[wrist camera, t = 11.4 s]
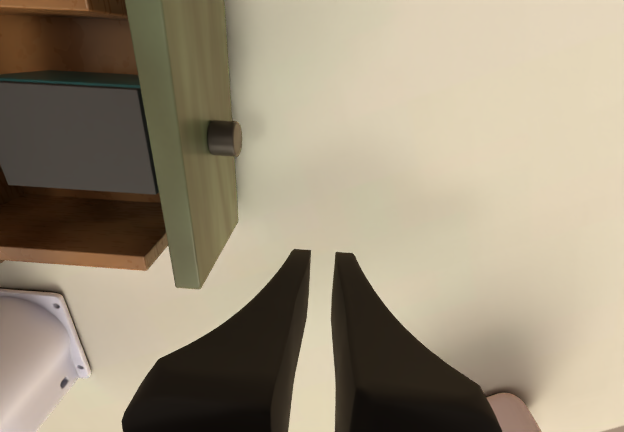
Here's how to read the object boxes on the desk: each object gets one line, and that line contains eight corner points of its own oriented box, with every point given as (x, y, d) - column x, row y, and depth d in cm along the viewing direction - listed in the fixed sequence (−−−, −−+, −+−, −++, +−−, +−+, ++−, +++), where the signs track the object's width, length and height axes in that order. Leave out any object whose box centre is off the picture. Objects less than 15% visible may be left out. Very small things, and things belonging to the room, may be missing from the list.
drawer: (249, -10, 16) (195, -44, 10) (257, 222, 21) (226, 292, 15) (-50, -22, 16) (-277, -63, 10) (34, 207, 22) (-80, 268, 16)
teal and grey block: (185, 77, 17) (138, 86, 13) (195, 165, 19) (159, 197, 15) (48, 69, 17) (-38, 77, 13) (74, 158, 19) (6, 187, 15)
